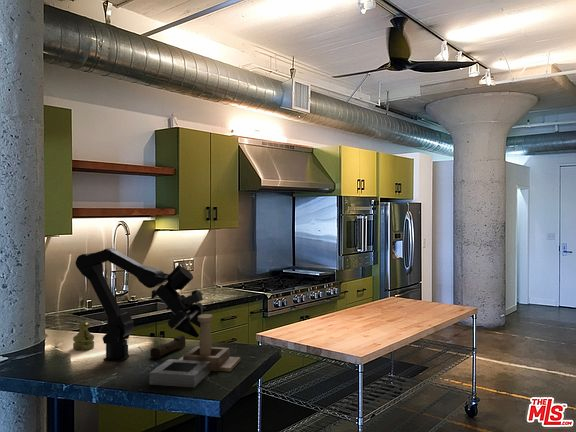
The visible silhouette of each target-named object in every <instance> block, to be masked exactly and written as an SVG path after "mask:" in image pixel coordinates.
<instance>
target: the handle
mask: <svg viewBox="0 0 576 432" xmlns="http://www.w3.org/2000/svg"><path fill="white" fill-rule="evenodd" d="M213 319H214V317H213V314H209V313H202V315H199V316H198V321H199V322H200V327H199V329H200V330H199V332H200V333H199V346H200V355H205V356H210V355H211V347H212V335H211V334H212V333H211V322H213Z"/></svg>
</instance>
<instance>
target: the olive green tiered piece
mask: <svg viewBox="0 0 576 432" xmlns="http://www.w3.org/2000/svg"><path fill="white" fill-rule="evenodd" d="M91 325H92V324H91V322H87V321H80V322H78V323H77V324H76V327H77V328H78V329H79V331H78V333H76V334H75V335H74V336H73V337H72V341H73V342H72V345H73V346H72V349H73V350H74V351H82V352H83V351H84V352H85V351H89V350H92V349H94V348H95V341H94V339H95V334H93V333H91V332H90V331H89V330H88V329H89V328H90V327H91Z"/></svg>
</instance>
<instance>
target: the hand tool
mask: <svg viewBox="0 0 576 432" xmlns="http://www.w3.org/2000/svg"><path fill="white" fill-rule="evenodd" d="M186 343H187V342H186V336H185V335H183V334H181V335H179V336H176V337H174V338H173V340H171V341H168V342H167V343H164V344H162V345H159V346H157V347H152V348H150V352H149V353H150V357H151V359H155V358H156V359H160V358H162V357H163V356H165V355H167V354H169V353H171V352H173V351H176V350H181V349H183V348H184V347H185V346H186ZM156 359H155V360H156Z"/></svg>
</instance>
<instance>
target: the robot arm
mask: <svg viewBox="0 0 576 432" xmlns="http://www.w3.org/2000/svg"><path fill="white" fill-rule="evenodd" d="M106 262H109V263H111V264H113V265H115V266H116V267H118V268H120V269H122V270H124V271H126V272H127V273H129V274H131V275H133V276H134V277H135V278H136V279H137V280H138V282H139V283H140V284H142V285H143V286H144V287H146V288H148V289H152V288H155V287H157V288H156V289H153V290H151V297H150V298H151V300H153V299H156V298H159V300H161V302H162V303H163V304H164V305H165V306H166V308H165V310H166V311H171V313H172V314H173V316H171V318H170V319H168V321H167V326H168V327H169V328H170V329H171V330H173V329H174V330H175V331H179V332H181V333H184V334H186V335H189V336H192V337H194V338H198V337H200V333H198V332H197V330H196V328H195V327H194V325H195V326H197V327H198V328H200V322H199V321H198V316H199V315H202V314H203V311H204V305H203V304H202V303H201V301H203V300H204V298H203V293H202V292H201V290H199V289H194V290H192V291H191V294H190V295H188V296H186V295H185V294H180V293H179V292H178V290H179V291H183V289H185V287H186V286H187V285H188V284H189V283H190V282H192V280H193V279H194V275H193V274H192V272H191V271H190V270H188V269H187V268H185V267H183V266H182V265H181V264H179V265H177V266H175V268H174V269H173V270H172V271H171V272H170V273H166V272H164V271H163V270H162V269H158V268H156V267H152V266H148V265H143V264H141V263H140V262H138V261H136V260H134V259H133V258H130V257H129V256H127V255H125V254H123V253H121V252H120V251H118V250H116V249H115V248H113V247H112V248H111V247H110V248H105V249H103V250H99V251H97V252H89V253H81V254H79V255H78V256H77V258H76V260H75V267H76V268H77V270H78V271H79V273H80V274H81V275H82V276H84V277H85V278H86V279H87V280H88V281H89V282H90V284H91V286H92V288H93V291H94V292H95V295H96V297H97V298H98V301H99V302H100V304H101V305H100V306H102V309H103V310H104V313H105V314H106V316H107V323H106V324H107V329H108V331H107V333H105V334H104V335H103V336H102V339H101V340H102V342H103V344H105V357H104V358H103V361H107V362H108V361H109V362H122V361H123V360H126V359H127V358H128V357H130V354H129V345H128V340H129V338H130V335H131V334H132V333H133V331H134V328H135V324H134V322H135V321H134V320H133V318H132V317H131V313H130V312H129V311H127V312H124V311H123V310H122V309H121V307H120V305H119V304H118V302H117V300H116V297H115V296H114V294H113V292H112V290H111V288H110V286H109V284H108V282H107V280H106V278H105V276H104V274H103V273H104V271H103V269H104V267H103V266H104V265H103V264H104V263H106ZM164 283H165V284H164ZM193 324H194V325H193Z"/></svg>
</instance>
